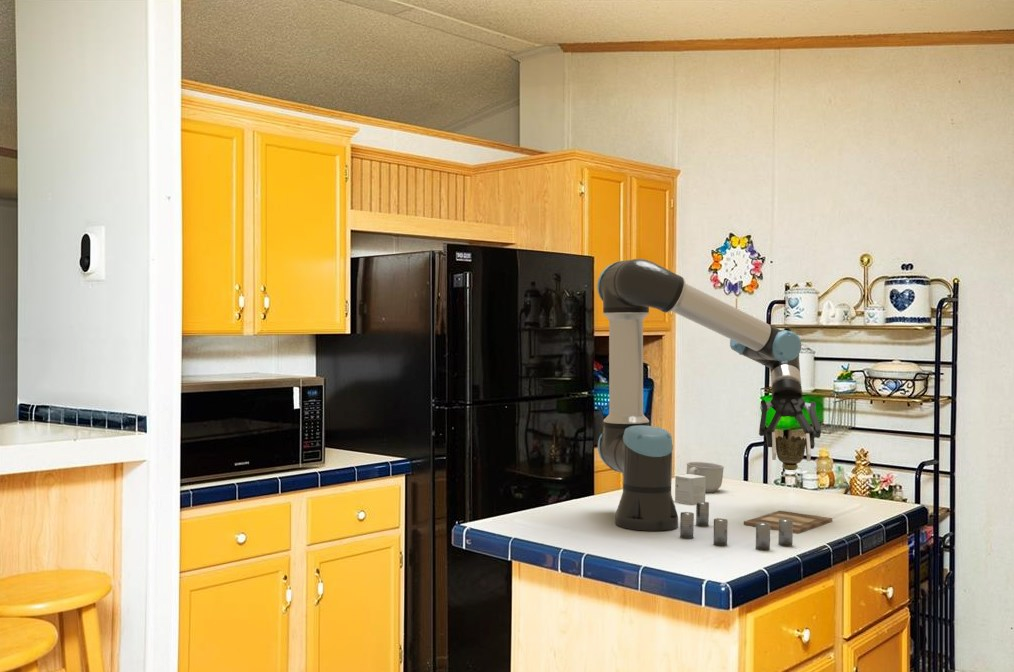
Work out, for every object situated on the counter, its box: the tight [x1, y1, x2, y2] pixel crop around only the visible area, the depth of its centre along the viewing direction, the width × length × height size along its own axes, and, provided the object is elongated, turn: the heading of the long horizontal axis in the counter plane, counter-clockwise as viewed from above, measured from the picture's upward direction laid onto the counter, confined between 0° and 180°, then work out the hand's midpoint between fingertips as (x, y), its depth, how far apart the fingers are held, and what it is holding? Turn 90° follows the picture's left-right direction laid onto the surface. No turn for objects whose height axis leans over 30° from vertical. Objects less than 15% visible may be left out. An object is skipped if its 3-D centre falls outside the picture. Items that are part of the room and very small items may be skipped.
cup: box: [775, 435, 806, 471], centre depth 240 cm, size 8×7×8 cm
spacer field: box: [679, 501, 794, 551], centre depth 223 cm, size 22×29×6 cm
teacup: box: [685, 461, 725, 493], centre depth 285 cm, size 14×11×8 cm
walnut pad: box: [743, 510, 833, 534], centre depth 240 cm, size 20×14×1 cm
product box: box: [674, 473, 706, 506], centre depth 267 cm, size 6×6×7 cm
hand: (791, 457), depth 236 cm, fingers closed on cup, 7 cm apart
